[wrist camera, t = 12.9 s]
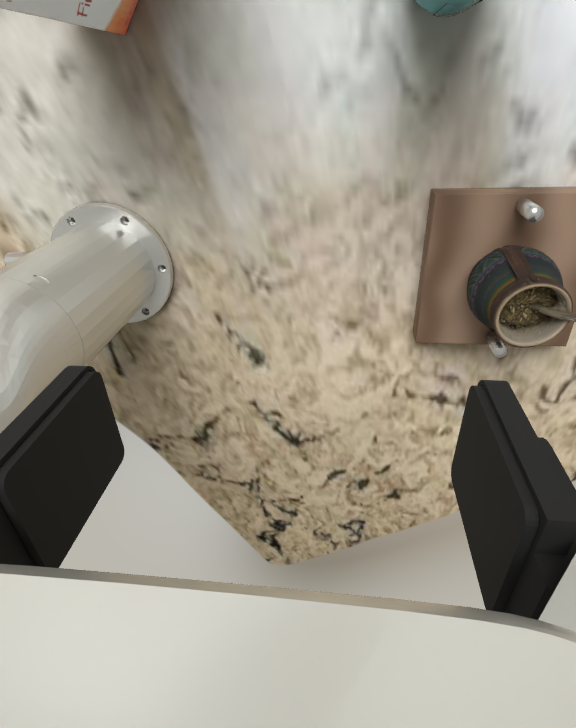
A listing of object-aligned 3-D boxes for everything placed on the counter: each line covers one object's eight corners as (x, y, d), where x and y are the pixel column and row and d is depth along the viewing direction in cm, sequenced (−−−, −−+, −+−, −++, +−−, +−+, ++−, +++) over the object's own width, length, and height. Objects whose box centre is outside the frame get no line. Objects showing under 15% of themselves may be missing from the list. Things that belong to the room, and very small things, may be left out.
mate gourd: (452, 251, 39) (481, 297, 30) (547, 223, 37) (606, 265, 28) (465, 321, 42) (494, 380, 34) (552, 299, 40) (606, 357, 32)
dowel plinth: (412, 330, 46) (420, 358, 41) (431, 188, 39) (442, 203, 34) (555, 333, 44) (579, 362, 40) (603, 186, 37) (640, 201, 32)
